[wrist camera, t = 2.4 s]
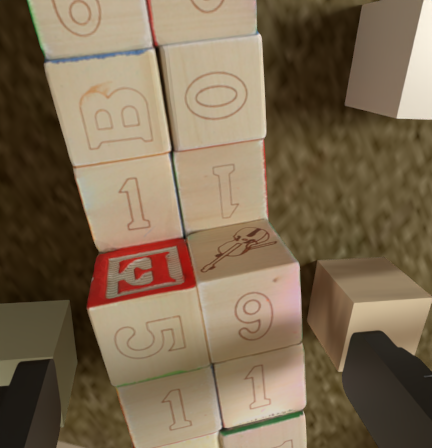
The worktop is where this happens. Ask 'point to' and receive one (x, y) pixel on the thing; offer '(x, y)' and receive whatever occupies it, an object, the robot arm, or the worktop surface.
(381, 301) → the birch cube
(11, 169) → the worktop surface
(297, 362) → the stack of blocks
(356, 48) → the off-white cube
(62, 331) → the sage cube
